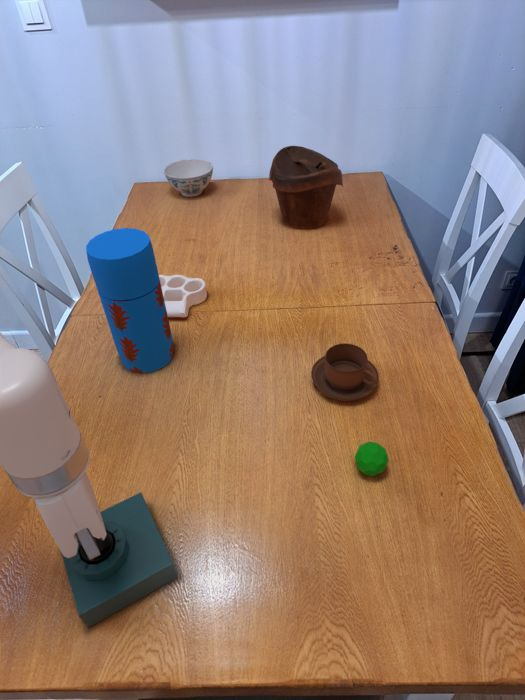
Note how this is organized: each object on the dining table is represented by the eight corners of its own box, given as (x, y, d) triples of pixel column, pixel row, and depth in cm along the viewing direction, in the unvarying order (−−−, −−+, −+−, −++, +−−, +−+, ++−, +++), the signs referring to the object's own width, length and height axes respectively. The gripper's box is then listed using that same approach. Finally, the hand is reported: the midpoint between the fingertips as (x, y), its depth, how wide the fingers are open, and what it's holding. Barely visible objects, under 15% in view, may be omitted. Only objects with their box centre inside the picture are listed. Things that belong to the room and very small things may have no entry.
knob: (89, 574, 61) (85, 567, 59) (81, 547, 63) (76, 540, 62) (120, 558, 62) (116, 550, 61) (111, 532, 65) (107, 524, 63)
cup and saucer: (382, 366, 92) (386, 342, 88) (370, 413, 84) (374, 388, 79) (320, 354, 95) (321, 329, 91) (303, 397, 87) (303, 372, 83)
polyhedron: (392, 468, 75) (397, 449, 72) (373, 487, 73) (376, 469, 70) (366, 449, 78) (369, 430, 75) (346, 467, 76) (349, 448, 72)
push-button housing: (88, 628, 60) (73, 609, 56) (65, 547, 68) (50, 525, 64) (178, 577, 64) (170, 555, 60) (146, 506, 72) (138, 483, 68)
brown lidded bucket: (334, 238, 129) (338, 171, 117) (262, 230, 134) (259, 165, 122) (346, 209, 141) (351, 145, 129) (280, 202, 146) (279, 140, 135)
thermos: (111, 369, 95) (72, 256, 78) (134, 334, 102) (103, 225, 86) (163, 377, 92) (134, 263, 76) (183, 340, 100) (161, 230, 84)
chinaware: (207, 204, 148) (203, 179, 143) (160, 201, 151) (156, 176, 146) (221, 183, 159) (219, 160, 154) (178, 181, 162) (174, 158, 157)
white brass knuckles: (119, 321, 106) (135, 283, 117) (201, 321, 105) (210, 282, 116) (115, 309, 104) (132, 271, 115) (199, 308, 103) (208, 270, 113)
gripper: (-2, 424, 53) (54, 513, 65) (22, 536, 43) (83, 616, 55) (67, 396, 55) (109, 487, 68) (105, 495, 45) (146, 581, 58)
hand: (97, 545), depth 61 cm, fingers closed
